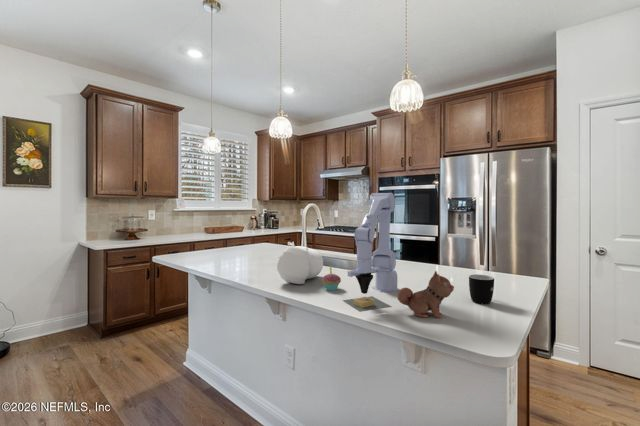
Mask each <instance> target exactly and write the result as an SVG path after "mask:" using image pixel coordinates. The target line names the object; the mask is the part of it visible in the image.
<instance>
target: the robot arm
mask: <svg viewBox="0 0 640 426" xmlns="http://www.w3.org/2000/svg"><path fill="white" fill-rule="evenodd" d="M395 199H396V198H395V195H394V194H393V192H377V193H376V192H371V194H370V195H369V205H370V208H369V212H368V213H367V214H365V215H364V217H363V219H362V222H361V224H360V225H359V226H358V227H357V228H355V230H354V235H353V237H354V241H355V246H356V268H355V269H350V270H347V277H349V278H352V277H355V278H356V280H357V282H358V284H359V288H360V292H361V293H362V294H365V295H366V294H368V292H369V288H370V284H371V283H372V280H373V279H374V275H373V274H375V286H372V287H371V288H372V289H374V290H375V291H378V292H380V293H385V292H392V291H399V288H398V272H397V271H396V269H395V268H396V264H397V261H396V260H397V259H396V253H395V252H394V251H393V250H392V249H390V236H391V235H390V233H391V228H390V227H391V213H393V212H394V211H395V204H396V203H395V202H396V200H395ZM378 216H379V218H378ZM377 225H378V226H379V227H378V245H377V246H378V248H377V249H376V250H374V251H373V242H374V240H375V234H376V228H377Z"/></svg>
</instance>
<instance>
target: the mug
mask: <svg viewBox="0 0 640 426" xmlns="http://www.w3.org/2000/svg"><path fill="white" fill-rule="evenodd" d="M468 288H469V295H470V299H471V301H472V302H473V303H475V304H477V305H490V304H491V302H492V299H493V295H494V290H495V278H494V276H491V275H487V274H476V273H475V274H469V275H468Z"/></svg>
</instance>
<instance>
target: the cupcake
mask: <svg viewBox="0 0 640 426" xmlns="http://www.w3.org/2000/svg"><path fill="white" fill-rule="evenodd" d="M321 279H322V282H323V284H324V285H325V286H324V287H325V289H326V290H327V291H337V290H338V288H339V285H340V283H341V282H342V280H341V279H342V278H341V277H340V276H339V275H338V274H334V273H333V272H332V264H330V265H329V273H328V274H325V275H324V276H323V277H322V278H321Z"/></svg>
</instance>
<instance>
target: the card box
mask: <svg viewBox="0 0 640 426" xmlns="http://www.w3.org/2000/svg"><path fill="white" fill-rule="evenodd" d="M368 297H369V296H361V297H356V298H357V299H356V298H353V299H354V305H356V306H359V307H361V308H364V307H368V306H372V305H374V300H373V299H370V298H368Z"/></svg>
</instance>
